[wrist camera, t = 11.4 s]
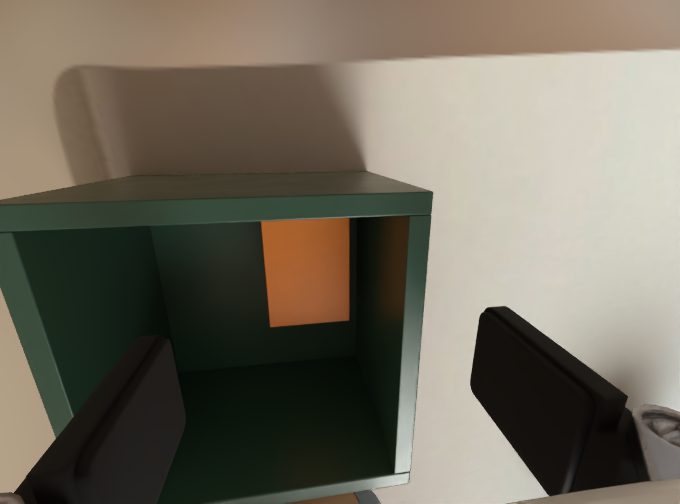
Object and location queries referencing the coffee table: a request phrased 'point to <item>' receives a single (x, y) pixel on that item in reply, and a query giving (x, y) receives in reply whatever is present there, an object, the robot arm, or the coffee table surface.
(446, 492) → the coffee table surface
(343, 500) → the alarm clock
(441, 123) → the coffee table surface
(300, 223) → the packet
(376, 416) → the bin
